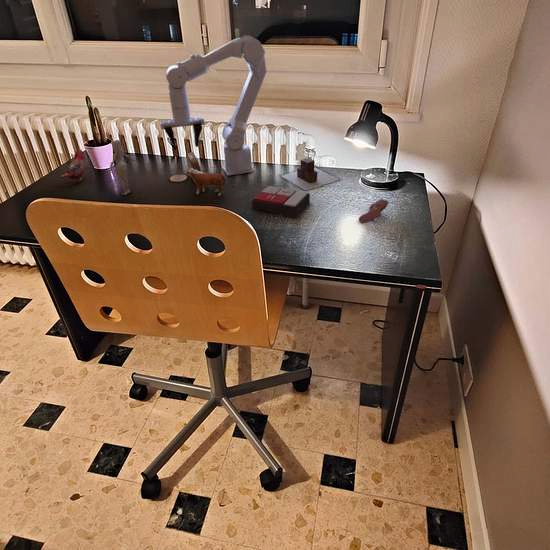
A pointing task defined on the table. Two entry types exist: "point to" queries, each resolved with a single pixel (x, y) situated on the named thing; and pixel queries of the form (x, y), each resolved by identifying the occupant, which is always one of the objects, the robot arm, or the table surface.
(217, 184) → the bull figurine
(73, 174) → the decorative bird figurine
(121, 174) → the human figurine
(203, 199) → the table surface
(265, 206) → the red and grey box
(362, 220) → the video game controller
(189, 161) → the tin
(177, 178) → the cork coaster
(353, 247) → the table surface
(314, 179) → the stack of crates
